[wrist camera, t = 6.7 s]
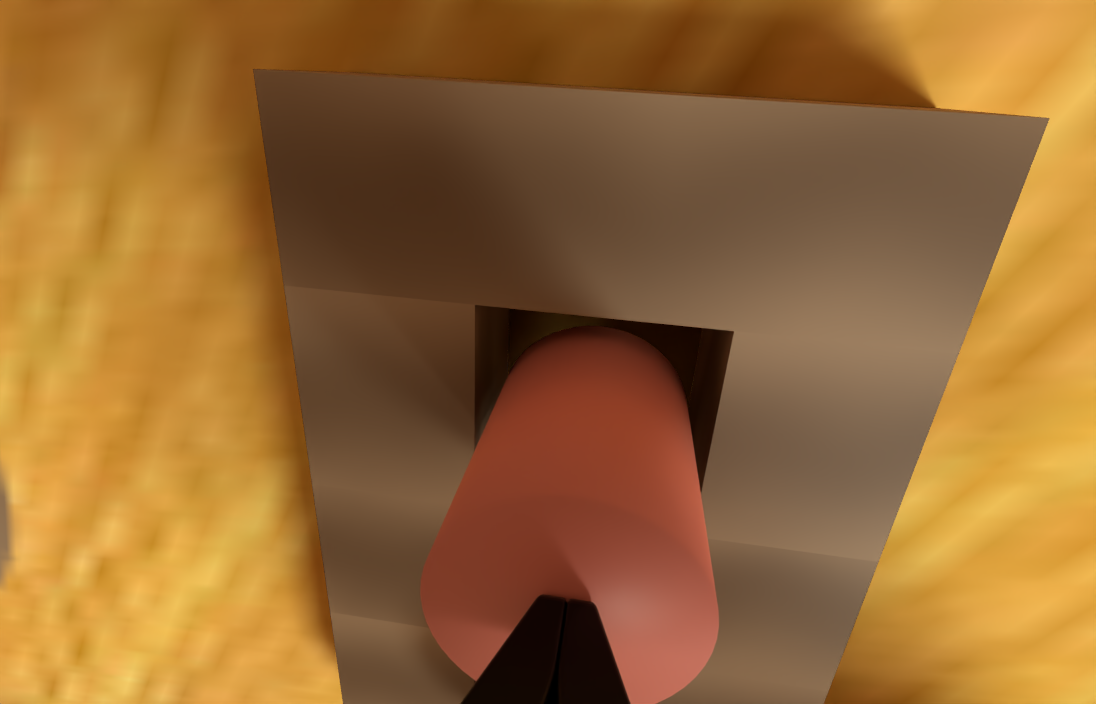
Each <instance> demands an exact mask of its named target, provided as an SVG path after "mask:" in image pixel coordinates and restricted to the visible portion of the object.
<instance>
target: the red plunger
mask: <svg viewBox="0 0 1096 704" xmlns="http://www.w3.org/2000/svg"><path fill="white" fill-rule="evenodd" d="M541 594H544V595H551V596H558V597H563V598H564V599H565V600H566V605H567V601H568V600H570V599H577V600H584V601H591V602H593V603H594V604H595V605H596V607H597V609H598V612H599V614H600V617H601V620H602V623H603V626H604V629H605V632H606V634H607V637H608V640H609V643H610V646H611V649H612V652H613V654H614V657H615V660H616V663H617V666H618V669H619V672H620V674H621V677H622V680H623V683H624V686H625V689H626V692H627V695H628V697H629V700H630V703H631V704H656V703H659V702H661V701H663V700H665V699H667V698H669V697H671V696H672V695H674V694H675V693H677V692H678V691H680V690H681V689H683V688H684V687H685V686H687V685H688V684H689V683H690V682H691V681H692V680H693V679H694V678H696V676H697V675H698V674H699V673H700V671H701V670H702V669H703V668H704V667H705V665H706V663H707V662H708V660H709V658H710V656H711V655H712V652H713V650H714V647H715V644H716V641H717V636H718V630H719V610H718V603H717V597H716V590H715V583H714V577H713V570H712V564H711V557H710V551H709V544H708V537H707V531H706V524H705V518H704V511H703V505H702V498H701V491H700V485H699V478H698V472H697V465H696V459H695V452H694V445H693V439H692V432H691V426H690V419H689V413H688V406H687V400H686V395H685V390H684V388H683V385H682V382H681V379H680V378H679V376H678V374H677V372H676V370H675V369H674V367H673V366H672V365H671V363H670V362H669V361H668V360H667V358H666V357H665V356H664V355H663V354H662V353H661V352H660V351H658V350H657V349H656V348H655V347H653V346H652V345H651V344H649V343H648V342H646V341H644V340H643V339H641V338H639V337H637V336H635V335H632V334H630V333H628V332H625V331H621V330H618V329H615V328H609V327H603V326H579V327H572V328H567V329H563V330H560V331H557V332H554V333H551V334H549V335H547V336H545V337H543V338H541V339H540V340H538V341H537V342H535V343H534V344H532V345H531V346H530V347H529V348H528V349H527V350H525V351H524V352H523V353H522V355H521V356H520V357H519V358H518V359H517V360H516V362H515V363H514V365H513V367H512V368H511V370H510V372H509V374H508V377H507V379H506V381H505V383H504V386H503V388H502V390H501V392H500V395H499V397H498V399H497V401H496V404H495V406H494V408H493V410H492V413H491V415H490V417H489V419H488V422H487V424H486V426H485V429H484V431H483V433H482V435H481V438H480V440H479V442H478V444H477V447H476V449H475V451H474V453H473V456H472V458H471V460H470V462H469V465H468V467H467V469H466V471H465V474H464V476H463V478H462V480H461V483H460V485H459V487H458V489H457V492H456V494H455V496H454V498H453V501H452V503H451V505H450V508H449V510H448V512H447V514H446V517H445V519H444V521H443V523H442V526H441V528H440V530H439V532H438V535H437V537H436V539H435V541H434V544H433V546H432V548H431V550H430V553H429V555H428V557H427V560H426V562H425V565H424V567H423V572H422V577H421V586H420V596H421V604H422V609H423V613H424V616H425V619H426V622H427V624H428V626H429V629H430V631H431V633H432V635H433V636H434V638H435V640H436V641H437V643H438V644H439V646H440V647H441V649H442V650H443V651H444V652H445V653H446V654H447V656H448V657H449V658H450V659H451V660H452V661H453V662H454V663H455V664H456V665H457V666H458V667H459V668H460V669H461V670H462V671H463V672H465V673H466V674H467V675H469V676H470V677H471V678H473V679H474V680H475V681H477V679H478V678H479V677H480V675H481V674H482V672H483V671H484V670H485V668H486V667H487V666H488V664H489V663H490V661H491V660H492V659H493V657H494V656H495V654H496V653H497V652H498V650H499V649H500V648H501V646H502V645H503V643H504V642H505V641H506V639H507V638H508V636H509V635H510V634H511V632H512V631H513V630H514V628H515V627H516V625H517V624H518V623H519V621H520V620H521V618H522V617H523V616H524V614H525V613H526V612H527V610H528V609H529V607H530V606H531V605H532V603H533V602H534V600H535V599H536V598H537V597H538V596H539V595H541Z"/></svg>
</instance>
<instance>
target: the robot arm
mask: <svg viewBox="0 0 1096 704" xmlns="http://www.w3.org/2000/svg"><path fill="white" fill-rule="evenodd" d="M460 704H631V703H630V700H629V697H628V695H627V692H626V689H625V686H624V683H623V680H622V677H621V674H620V672H619V669H618V666H617V663H616V660H615V657H614V654H613V652H612V649H611V646H610V643H609V640H608V637H607V634H606V632H605V629H604V626H603V623H602V620H601V617H600V614H599V612H598V609H597V607H596V605H595V604H594V603H593V602H591V601H584V600H577V599H570V600H568V601H567V605H566V600H565V599H564V598H563V597H558V596H551V595H544V594H541V595H539V596H538V597H537V598H536V599H535V600H534V602H533V603H532V605H531V606H530V607H529V609H528V610H527V612H526V613H525V614H524V616H523V617H522V618H521V620H520V621H519V623H518V624H517V625H516V627H515V628H514V630H513V631H512V632H511V634H510V635H509V636H508V638H507V639H506V641H505V642H504V643H503V645H502V646H501V648H500V649H499V650H498V652H497V653H496V654H495V656H494V657H493V659H492V660H491V661H490V663H489V664H488V666H487V667H486V668H485V670H484V671H483V672H482V674H481V675H480V677H479V678H478V679H477V681H476V682H475V684H474V685H473V686H472V688H471V689H470V690H469V692H468V693H467V695H466V696H465V697H464V699H463V700H462V702H461V703H460Z"/></svg>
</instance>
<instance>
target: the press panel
mask: <svg viewBox="0 0 1096 704" xmlns="http://www.w3.org/2000/svg"><path fill="white" fill-rule="evenodd" d="M253 72H254V79H255V86H256V93H257V100H258V107H259V114H260V121H261V128H262V135H263V142H264V149H265V156H266V163H267V170H268V177H269V184H270V191H271V198H272V205H273V213H274V220H275V227H276V234H277V241H278V248H279V255H280V262H281V269H282V276H283V283H284V290H285V297H286V304H287V311H288V318H289V325H290V332H291V339H292V346H293V354H294V361H295V368H296V375H297V382H298V389H299V396H300V403H301V410H302V417H303V424H304V431H305V438H306V445H307V452H308V459H309V466H310V473H311V480H312V487H313V495H314V502H315V509H316V516H317V523H318V530H319V537H320V544H321V551H322V558H323V565H324V572H325V579H326V586H327V593H328V600H329V607H330V614H331V621H332V628H333V636H334V643H335V650H336V657H337V664H338V671H339V678H340V685H341V692H342V699H343V704H460V703H461V702H462V700H463V699H464V697H465V696H466V695H467V693H468V692H469V690H470V689H471V688H472V686H473V685H474V684H475V682H476V681H475V680H474V679H473V678H471V677H470V676H469V675H467V674H466V673H465V672H463V671H462V670H461V669H460V668H459V667H458V666H457V665H456V664H455V663H454V662H453V661H452V660H451V659H450V658H449V657H448V656H447V654H446V653H445V652H444V651H443V650H442V649H441V647H440V646H439V644H438V643H437V641H436V640H435V638H434V636H433V635H432V633H431V631H430V629H429V626H428V624H427V622H426V619H425V616H424V613H423V609H422V604H421V596H420V586H421V577H422V572H423V567H424V565H425V562H426V560H427V557H428V555H429V553H430V550H431V548H432V546H433V544H434V541H435V539H436V537H437V535H438V532H439V530H440V528H441V526H442V523H443V521H444V519H445V517H446V514H447V512H448V510H449V508H450V505H451V503H452V501H453V498H454V496H455V494H456V492H457V489H458V487H459V485H460V483H461V480H462V478H463V476H464V474H465V471H466V469H467V467H468V465H469V462H470V460H471V458H472V456H473V453H474V451H475V449H476V447H477V444H478V442H479V440H480V438H481V435H482V433H483V431H484V429H485V426H486V424H487V422H488V419H489V417H490V415H491V413H492V410H493V408H494V406H495V404H496V401H497V399H498V397H499V395H500V392H501V390H502V388H503V386H504V383H505V381H506V379H507V377H508V350H509V315H510V308H511V309H521V310H530V311H540V312H550V313H560V314H570V315H580V316H590V317H600V318H610V319H619V320H629V321H639V322H649V323H659V324H669V325H679V326H689V327H699V328H702V332H701V338H700V344H699V349H698V355H697V360H696V366H695V372H694V377H693V383H692V388H691V394H690V400H689V405H688V413H689V419H690V426H691V432H692V439H693V445H694V452H695V459H696V465H697V472H698V478H699V485H700V491H701V498H702V505H703V511H704V518H705V524H706V531H707V537H708V544H709V551H710V557H711V564H712V570H713V577H714V583H715V590H716V597H717V603H718V610H719V630H718V636H717V641H716V644H715V647H714V650H713V652H712V655H711V656H710V658H709V660H708V662H707V663H706V665H705V667H704V668H703V669H702V670H701V671H700V673H699V674H698V675H697V676H696V678H694V679H693V680H692V681H691V682H690V683H689V684H688V685H687V686H685V687H684V688H683V689H681V690H680V691H678V692H677V693H675V694H674V695H672V696H671V697H669V698H667V699H665V700H663V701H661V702H659V703H656V704H824V702H825V699H826V697H827V694H828V691H829V689H830V686H831V684H832V681H833V678H834V676H835V673H836V671H837V668H838V665H839V663H840V660H841V658H842V655H843V652H844V650H845V647H846V645H847V642H848V639H849V637H850V634H851V632H852V629H853V627H854V624H855V621H856V619H857V616H858V614H859V611H860V608H861V606H862V603H863V601H864V598H865V595H866V593H867V590H868V588H869V585H870V582H871V580H872V577H873V575H874V572H875V569H876V567H877V564H878V562H879V559H880V556H881V554H882V551H883V549H884V546H885V543H886V541H887V538H888V536H889V533H890V531H891V528H892V525H893V523H894V520H895V518H896V515H897V512H898V510H899V507H900V505H901V502H902V499H903V497H904V494H905V492H906V489H907V486H908V484H909V481H910V479H911V476H912V473H913V471H914V468H915V466H916V463H917V460H918V458H919V455H920V453H921V450H922V447H923V445H924V442H925V440H926V437H927V435H928V432H929V429H930V427H931V424H932V422H933V419H934V416H935V414H936V411H937V409H938V406H939V403H940V401H941V398H942V396H943V393H944V390H945V388H946V385H947V383H948V380H949V377H950V375H951V372H952V370H953V367H954V364H955V362H956V359H957V357H958V354H959V352H960V349H961V346H962V344H963V341H964V339H965V336H966V333H967V331H968V328H969V326H970V323H971V320H972V318H973V315H974V313H975V310H976V307H977V305H978V302H979V300H980V297H981V294H982V292H983V289H984V287H985V284H986V281H987V279H988V276H989V274H990V271H991V268H992V266H993V263H994V261H995V258H996V256H997V253H998V250H999V248H1000V245H1001V243H1002V240H1003V237H1004V235H1005V232H1006V230H1007V227H1008V224H1009V222H1010V219H1011V217H1012V214H1013V211H1014V209H1015V206H1016V204H1017V201H1018V198H1019V196H1020V193H1021V191H1022V188H1023V185H1024V183H1025V180H1026V178H1027V175H1028V172H1029V170H1030V167H1031V165H1032V162H1033V160H1034V157H1035V154H1036V152H1037V149H1038V147H1039V144H1040V141H1041V139H1042V136H1043V134H1044V131H1045V128H1046V126H1047V123H1048V121H1049V118H1041V117H1030V116H1019V115H1007V114H996V113H985V112H973V111H962V110H951V109H940V108H924V107H908V106H891V105H875V104H859V103H842V102H826V101H810V100H793V99H777V98H761V97H744V96H728V95H712V94H695V93H679V92H663V91H646V90H630V89H614V88H597V87H581V86H565V85H548V84H532V83H516V82H499V81H483V80H467V79H450V78H434V77H418V76H401V75H385V74H369V73H352V72H326V71H296V70H266V69H253Z"/></svg>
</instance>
